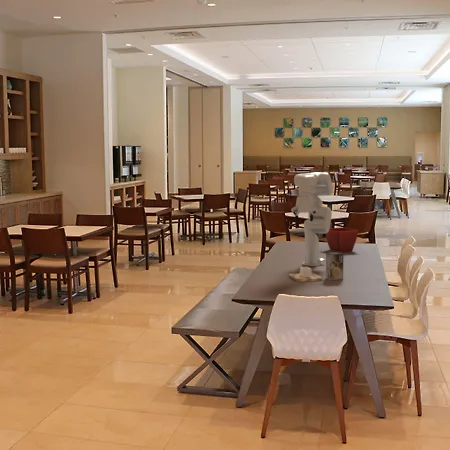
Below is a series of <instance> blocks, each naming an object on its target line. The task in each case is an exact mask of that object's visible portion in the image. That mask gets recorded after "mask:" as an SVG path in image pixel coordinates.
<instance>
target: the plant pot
mask: <svg viewBox="0 0 450 450" xmlns="http://www.w3.org/2000/svg"><path fill="white" fill-rule="evenodd" d="M358 233H359V229H355V228H349V227H344V226H342V227H341V226H340V227H330V229H329V232H328V233H325V239H326V242H327V245H328V248H329V250H330V251H332V250H333V251H332V252H335V253H336V252H339V253H344V252H345V253H346V252H352V251H353V250H354V248H355V245H356V241H357V238H358Z"/></svg>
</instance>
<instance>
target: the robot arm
mask: <svg viewBox="0 0 450 450" xmlns="http://www.w3.org/2000/svg"><path fill="white" fill-rule="evenodd" d="M293 183H294V185H295V186H297V187H298V196H297V197H296V202H295V206H294V207H292V208H291V212H292V214H293V215H294V221H295V222H296V223H299V214H302V213H304V214H305V213H307V214H308V215H307V217H308V219H305V220H304V223H303V229H304V261H303V262H302V263H301V264H302V265H303V266H304V267H318V266H321V265H322V264H321V263H323V262H325V263H326V258H320V257H319V253H320V251H319V249H320V248H319V247H320V241H319V240H320V239H319V237H318V235H317V234H322V235H323V234H325V233H328V232H329V229H330V228H331V222H332V209H331V208H330V207H328V206H323V204H324V203H323V201H322V199H321V198H320V197H319V196H330V195H332V194H333V191H334V188H333V182H332V179H331V175H330V174H329V173H328V172H317V171H316V172H310V173H309V172H307V173H298V174H295V176H294V178H293ZM325 235H326V234H325Z"/></svg>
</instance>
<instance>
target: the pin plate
mask: <svg viewBox="0 0 450 450" xmlns="http://www.w3.org/2000/svg"><path fill="white" fill-rule="evenodd" d="M288 275H289V276H288V277H290V278H292V279H293V280H294V281H296V282H297V283H298V282H299V283H300V282H318V281H320V280H323V277H322V276H320V275H318V274H316V273H314V272H312V275H311V277H302V276H301V275H300V272H299V273H289V274H288ZM320 282H321V281H320Z"/></svg>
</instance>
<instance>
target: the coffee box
mask: <svg viewBox="0 0 450 450" xmlns="http://www.w3.org/2000/svg"><path fill="white" fill-rule="evenodd" d="M325 279H327V280H329V281H336V280H344V253H343V252H336V251H335V252H326V253H325Z"/></svg>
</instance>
